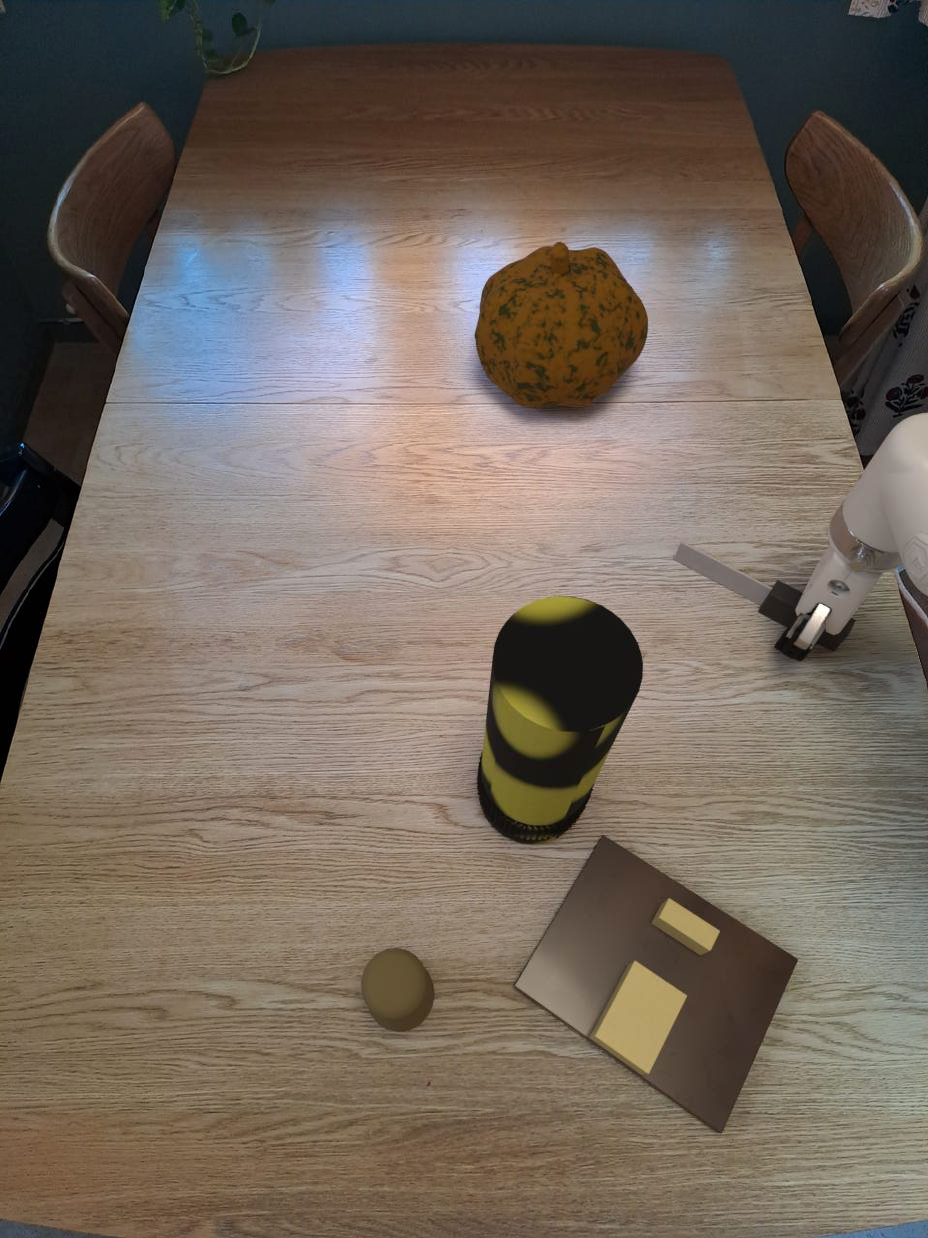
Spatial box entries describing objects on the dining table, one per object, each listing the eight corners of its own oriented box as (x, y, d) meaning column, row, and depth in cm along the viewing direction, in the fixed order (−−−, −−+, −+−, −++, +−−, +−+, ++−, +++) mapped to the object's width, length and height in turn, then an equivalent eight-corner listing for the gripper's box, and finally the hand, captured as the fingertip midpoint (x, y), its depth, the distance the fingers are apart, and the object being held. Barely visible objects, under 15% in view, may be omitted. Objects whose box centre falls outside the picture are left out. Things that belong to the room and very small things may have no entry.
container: (590, 752, 85) (653, 606, 59) (577, 857, 80) (640, 749, 54) (485, 733, 86) (502, 581, 60) (466, 836, 81) (475, 719, 55)
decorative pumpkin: (643, 435, 105) (664, 299, 88) (475, 435, 107) (464, 302, 90) (636, 327, 115) (654, 187, 98) (484, 329, 117) (476, 191, 100)
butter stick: (678, 999, 73) (687, 995, 70) (640, 1075, 70) (648, 1074, 67) (627, 964, 74) (634, 960, 72) (589, 1038, 71) (594, 1036, 69)
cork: (375, 1041, 72) (363, 1035, 63) (359, 969, 75) (346, 952, 66) (442, 1019, 73) (441, 1010, 64) (424, 949, 76) (420, 930, 66)
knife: (841, 637, 92) (856, 620, 89) (833, 652, 91) (848, 635, 88) (678, 551, 97) (686, 532, 94) (669, 565, 97) (677, 545, 93)
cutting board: (792, 961, 76) (798, 959, 75) (716, 1133, 70) (721, 1134, 68) (600, 838, 81) (602, 834, 80) (512, 987, 75) (514, 986, 73)
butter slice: (710, 936, 76) (720, 931, 73) (700, 956, 75) (710, 951, 72) (661, 904, 77) (669, 897, 74) (651, 923, 76) (658, 917, 73)
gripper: (881, 618, 72) (807, 698, 87) (945, 486, 79) (866, 581, 94) (799, 577, 74) (740, 662, 89) (869, 451, 81) (804, 549, 96)
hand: (805, 620), depth 92 cm, fingers open, 9 cm apart
